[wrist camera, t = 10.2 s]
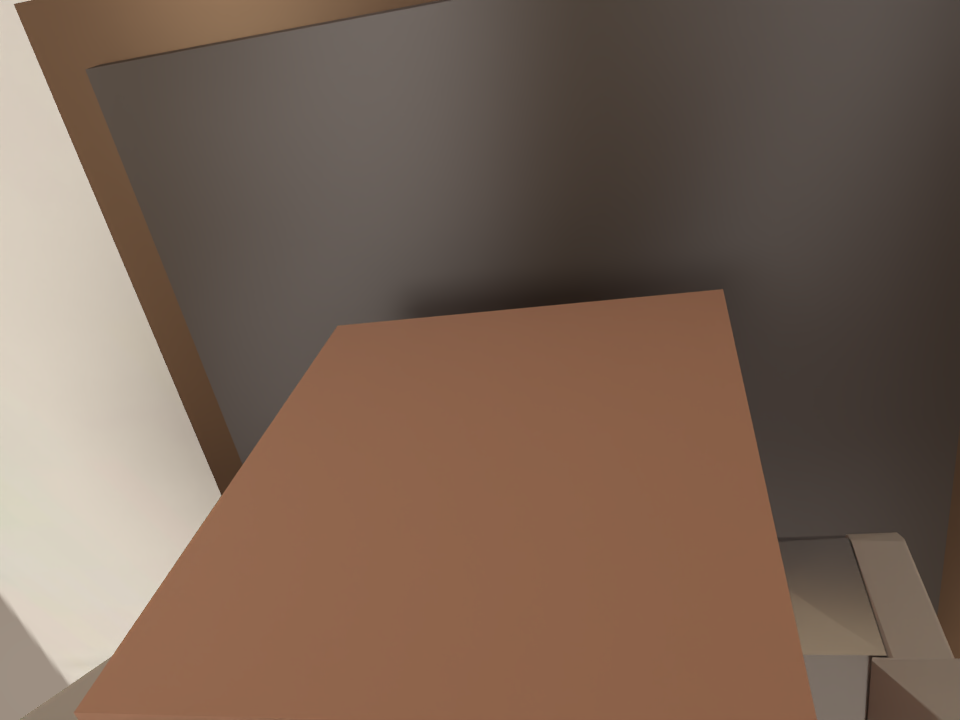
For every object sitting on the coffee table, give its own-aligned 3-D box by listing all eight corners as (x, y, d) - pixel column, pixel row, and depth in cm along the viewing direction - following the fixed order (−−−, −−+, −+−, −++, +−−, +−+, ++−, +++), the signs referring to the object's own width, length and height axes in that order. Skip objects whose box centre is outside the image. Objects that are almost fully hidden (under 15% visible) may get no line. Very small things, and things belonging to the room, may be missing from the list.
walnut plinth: (997, -204, 12) (1148, -241, 8) (922, 539, 18) (989, 691, 15) (143, -20, 15) (-5, 7, 11) (342, 553, 21) (286, 679, 18)
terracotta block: (723, 289, 10) (819, 732, 5) (736, 592, 12) (810, 1109, 7) (337, 325, 11) (72, 712, 6) (418, 595, 13) (281, 1039, 8)
